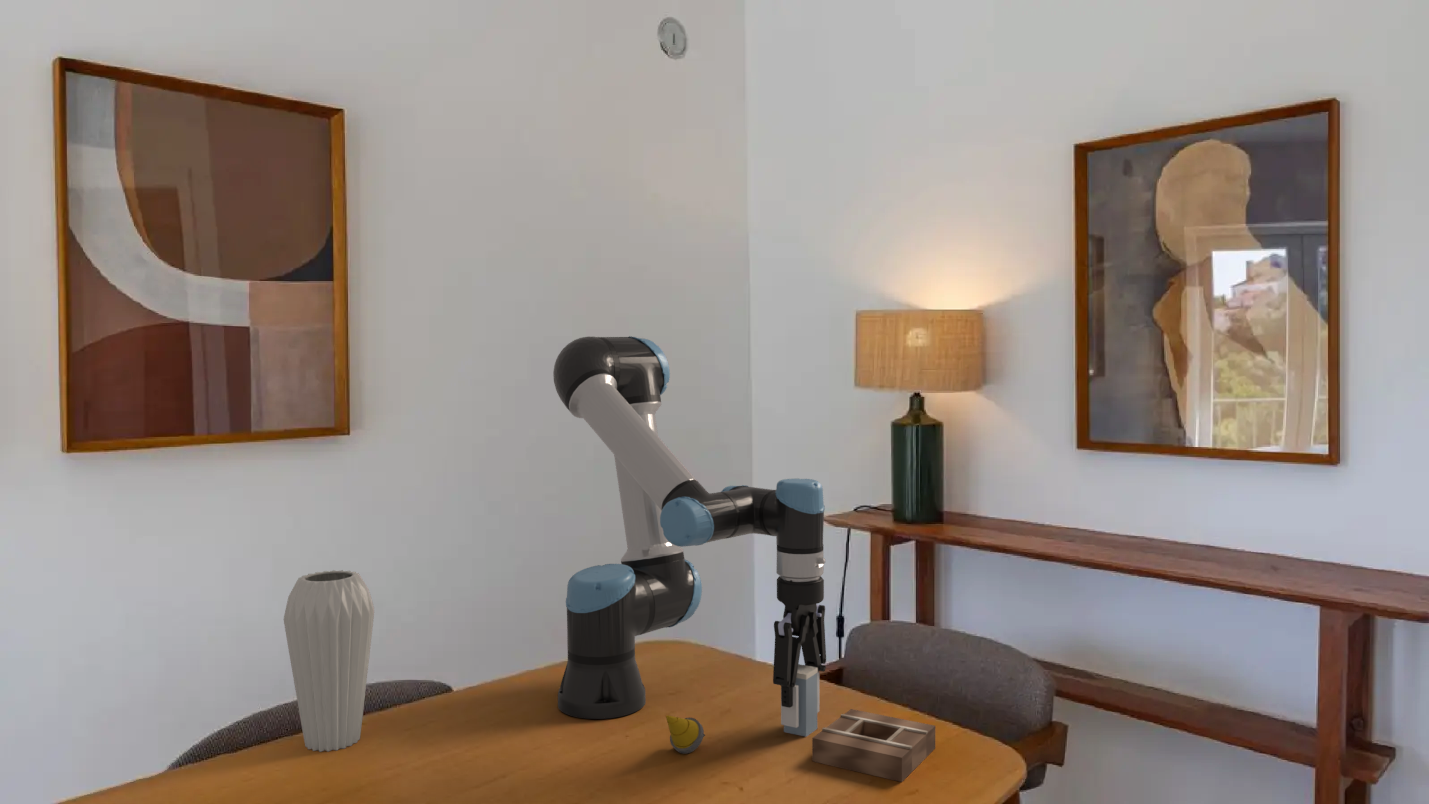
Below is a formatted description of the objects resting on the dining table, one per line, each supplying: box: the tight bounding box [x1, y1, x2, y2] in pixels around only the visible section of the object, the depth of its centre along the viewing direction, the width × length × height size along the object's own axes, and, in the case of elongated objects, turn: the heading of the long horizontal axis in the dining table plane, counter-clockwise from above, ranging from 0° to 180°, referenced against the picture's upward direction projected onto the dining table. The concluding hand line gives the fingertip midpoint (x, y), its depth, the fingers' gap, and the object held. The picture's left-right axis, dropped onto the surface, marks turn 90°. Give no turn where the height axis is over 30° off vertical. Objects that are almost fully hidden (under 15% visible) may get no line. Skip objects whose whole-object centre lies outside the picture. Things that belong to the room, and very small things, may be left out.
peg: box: [783, 663, 818, 738], centre depth 158 cm, size 4×4×10 cm
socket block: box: [811, 708, 936, 783], centre depth 148 cm, size 14×14×4 cm
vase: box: [283, 569, 375, 753], centre depth 154 cm, size 13×13×26 cm
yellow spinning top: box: [665, 715, 706, 755], centre depth 149 cm, size 5×5×10 cm
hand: (800, 717), depth 158 cm, fingers open, 7 cm apart
